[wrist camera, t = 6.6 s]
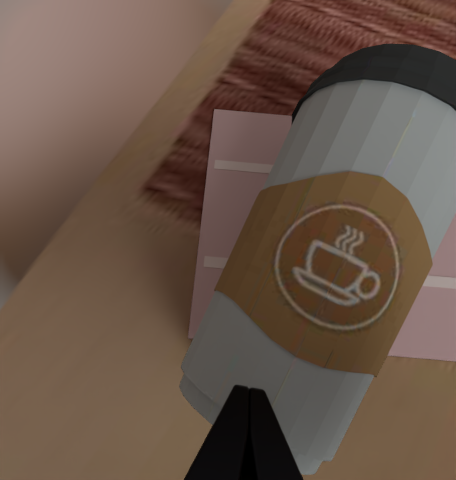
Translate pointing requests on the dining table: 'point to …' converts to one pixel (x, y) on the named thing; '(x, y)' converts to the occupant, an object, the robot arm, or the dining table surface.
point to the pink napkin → (239, 206)
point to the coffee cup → (334, 247)
